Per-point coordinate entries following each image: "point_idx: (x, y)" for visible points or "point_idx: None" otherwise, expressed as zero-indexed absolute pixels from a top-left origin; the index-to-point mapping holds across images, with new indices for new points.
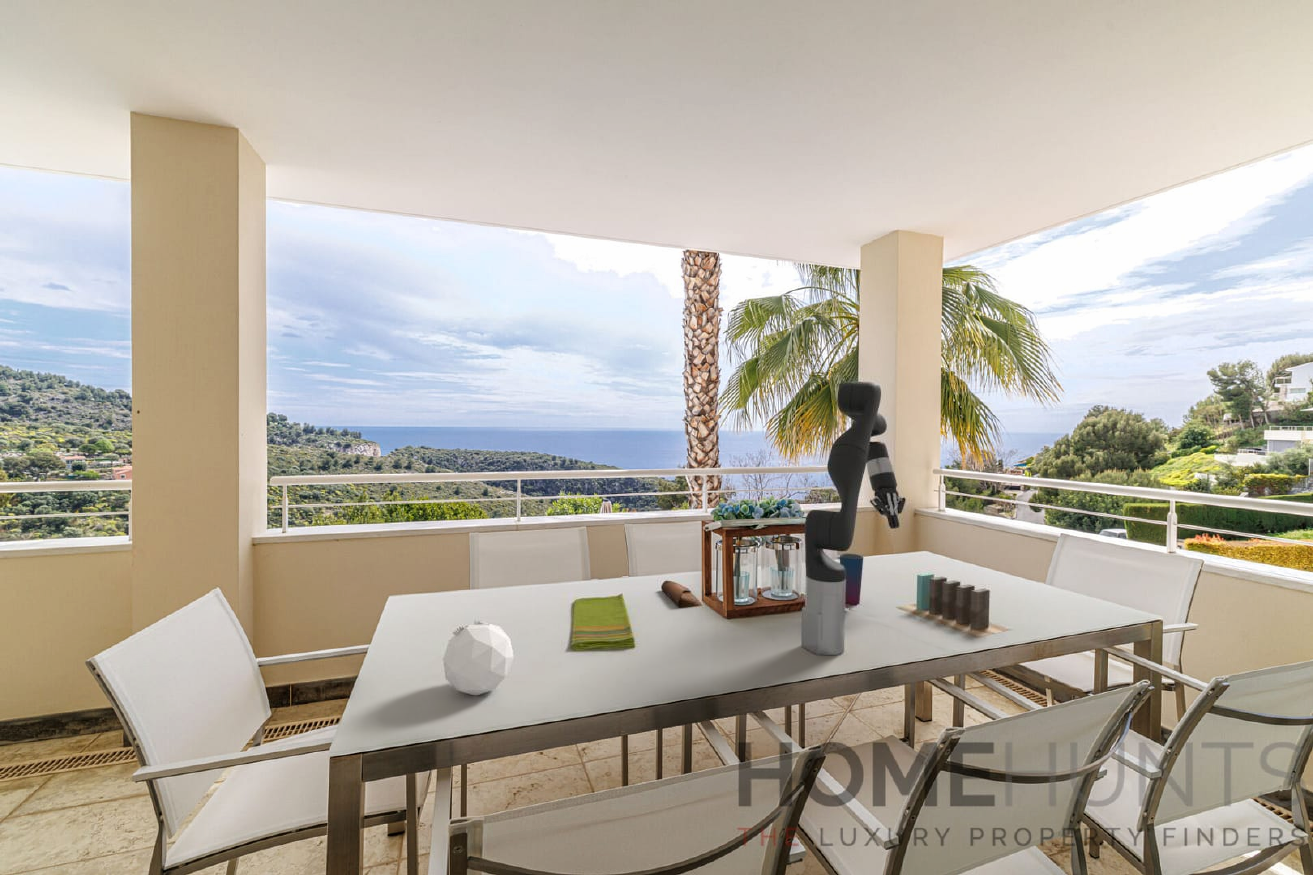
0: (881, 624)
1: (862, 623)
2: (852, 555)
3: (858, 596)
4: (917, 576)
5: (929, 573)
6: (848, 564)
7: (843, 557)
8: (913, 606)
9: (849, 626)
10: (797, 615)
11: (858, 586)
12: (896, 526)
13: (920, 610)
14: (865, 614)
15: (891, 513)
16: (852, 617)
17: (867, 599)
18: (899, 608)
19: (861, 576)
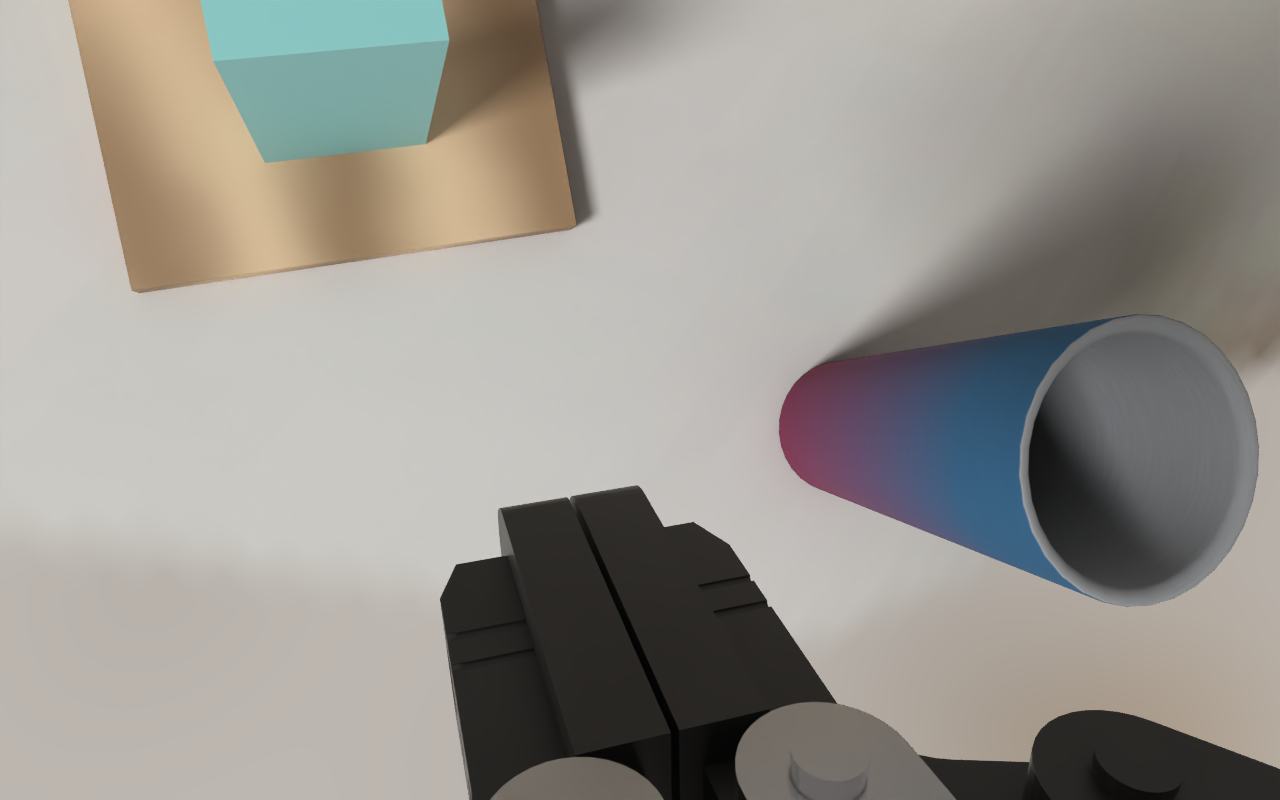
0: (868, 7)
1: (973, 64)
2: (1057, 560)
3: (859, 359)
4: (448, 42)
5: (228, 40)
6: (1162, 368)
7: (1251, 421)
8: (408, 202)
9: (1077, 44)
10: (1254, 313)
11: (916, 349)
12: (603, 494)
13: None
14: (851, 216)
15: (876, 750)
16: (969, 186)
17: None
18: (569, 190)
19: (931, 362)
